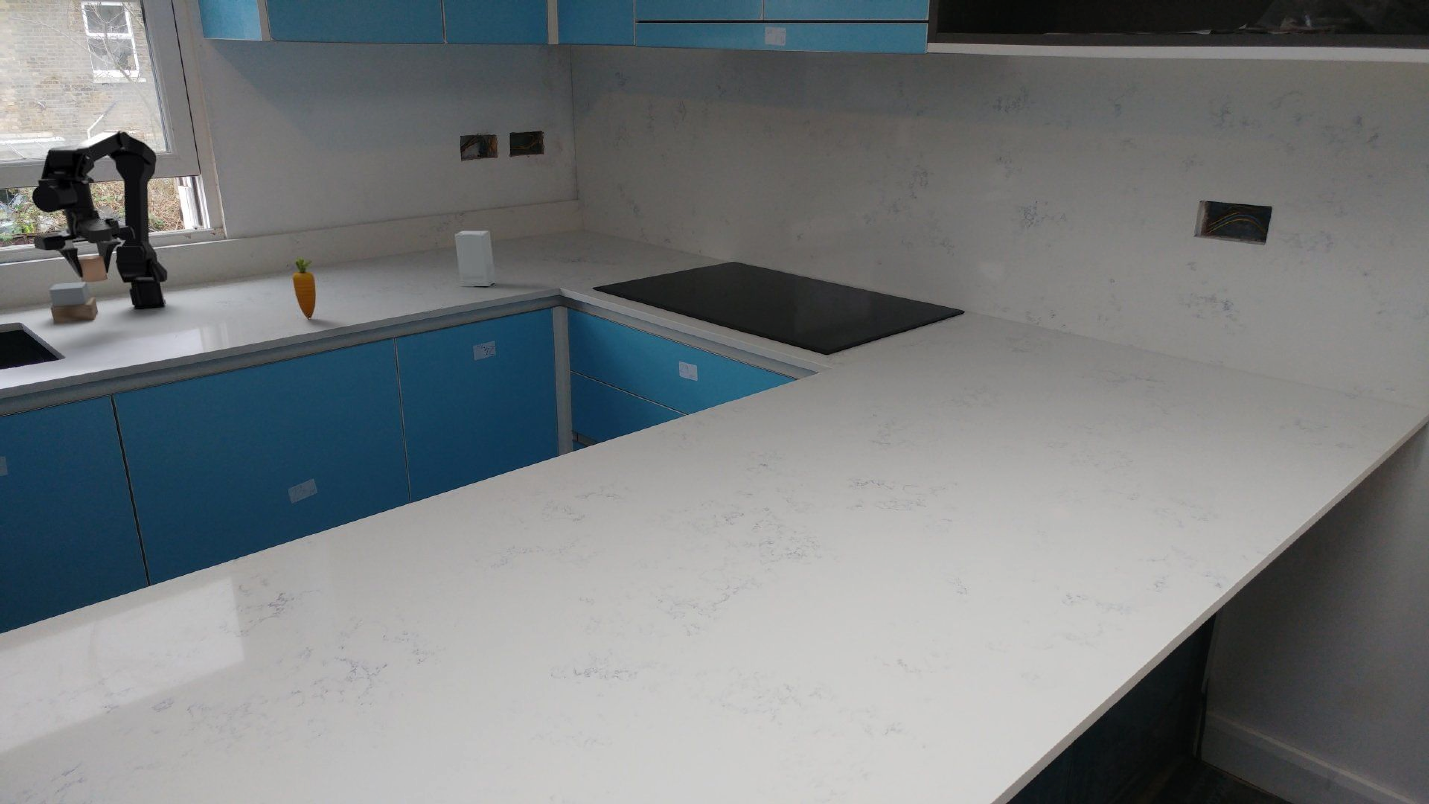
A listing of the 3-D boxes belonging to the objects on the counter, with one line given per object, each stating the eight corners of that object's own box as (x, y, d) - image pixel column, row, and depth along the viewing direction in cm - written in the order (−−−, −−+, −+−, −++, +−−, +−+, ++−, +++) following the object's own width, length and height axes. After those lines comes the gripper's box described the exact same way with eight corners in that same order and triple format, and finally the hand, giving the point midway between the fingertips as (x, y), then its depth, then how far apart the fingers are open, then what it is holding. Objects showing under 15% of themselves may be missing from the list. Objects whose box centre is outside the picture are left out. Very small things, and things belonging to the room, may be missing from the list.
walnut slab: (98, 313, 231) (94, 297, 229) (94, 320, 224) (90, 304, 223) (59, 316, 227) (55, 300, 226) (54, 324, 221) (50, 307, 219)
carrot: (301, 316, 228) (293, 255, 223) (322, 316, 229) (314, 255, 224) (295, 321, 224) (285, 259, 219) (316, 321, 224) (308, 259, 219)
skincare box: (495, 283, 265) (492, 230, 260) (487, 288, 259) (483, 234, 254) (467, 282, 266) (463, 229, 261) (458, 286, 260) (454, 232, 255)
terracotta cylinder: (108, 276, 218) (104, 255, 216) (106, 280, 214) (101, 259, 212) (83, 278, 216) (78, 256, 214) (80, 282, 212) (75, 260, 210)
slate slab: (90, 298, 228) (86, 281, 227) (85, 304, 223) (81, 287, 221) (58, 300, 226) (54, 284, 225) (53, 306, 220) (49, 289, 219)
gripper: (48, 214, 198) (65, 287, 203) (140, 204, 213) (153, 272, 218) (25, 209, 204) (41, 280, 209) (115, 200, 218) (129, 266, 224)
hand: (93, 275), depth 215 cm, fingers closed on terracotta cylinder, 5 cm apart
